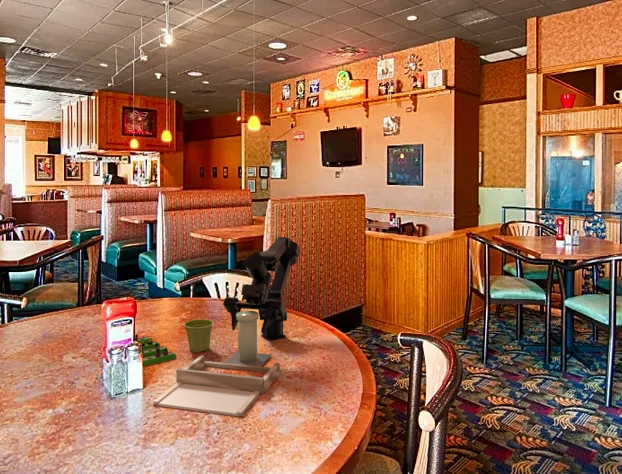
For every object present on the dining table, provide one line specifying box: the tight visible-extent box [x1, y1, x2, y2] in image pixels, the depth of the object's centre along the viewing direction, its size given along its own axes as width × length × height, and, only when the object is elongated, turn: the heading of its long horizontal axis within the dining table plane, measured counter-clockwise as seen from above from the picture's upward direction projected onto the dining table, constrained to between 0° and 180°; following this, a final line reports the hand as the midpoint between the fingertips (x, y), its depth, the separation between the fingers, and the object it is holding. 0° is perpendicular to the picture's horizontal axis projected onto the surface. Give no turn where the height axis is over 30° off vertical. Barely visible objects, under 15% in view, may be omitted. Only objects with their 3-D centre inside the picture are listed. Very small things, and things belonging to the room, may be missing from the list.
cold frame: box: [175, 355, 282, 395], centre depth 138 cm, size 15×24×4 cm, turn 76°
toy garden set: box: [134, 333, 177, 367], centre depth 155 cm, size 23×19×5 cm
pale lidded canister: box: [236, 310, 260, 362], centre depth 150 cm, size 7×7×14 cm
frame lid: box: [152, 381, 260, 418], centre depth 124 cm, size 12×23×1 cm, turn 76°
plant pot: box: [183, 318, 215, 353], centre depth 160 cm, size 9×9×9 cm
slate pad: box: [224, 351, 272, 367], centre depth 150 cm, size 11×11×1 cm
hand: (247, 331), depth 149 cm, fingers open, 9 cm apart
